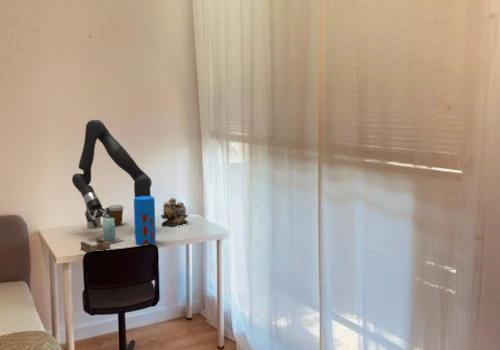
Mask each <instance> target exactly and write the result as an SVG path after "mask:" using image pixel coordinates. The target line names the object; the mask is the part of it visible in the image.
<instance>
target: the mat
mask: <svg viewBox="0 0 500 350" xmlns="http://www.w3.org/2000/svg"><path fill="white" fill-rule="evenodd" d="M102 239H103V240H104V238H102ZM95 242H96V243H97V239H96V240H95ZM122 242H125V241H124V239H122V238H121V239H120V238H119V237H116V236H115V241H111V242H110V245H113V244H116V243H122Z"/></svg>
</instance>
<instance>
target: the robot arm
mask: <svg viewBox="0 0 500 350" xmlns="http://www.w3.org/2000/svg"><path fill="white" fill-rule="evenodd" d="M84 136H85V137H84V142H83V146H82V152H81V154H80V159H79V162H78V163H79V164H78V169H80V170H81V171H83V173H80V172H79V173H77V172H76V173H74V174H73V175H72V177H71V182H72V184H73V186H74V187H75V189H77V190H78V191H79V193H80V195H81V196H82V198H83V201H84V203H85V207H86V206H87V208H88V210H89V211H85V213H84V216H85V218H86V222H87V221H88V222H92V224H93V226H94V227H97V223H96V221H95V220H94V219H95V217H96V218H98V217H100V218H103V219H104V218H111V216H112V214H111V212H110V210H109V208H108V207H109V206H108V207H106V208H103V206H102V203H101V201H100V198H99V197H98V195H97V194H96V192H95V190H94V187H92V185H90V184H91V182H92V166H93V162H94V158H95V148H96V143H97V140H99V142H100V143H101V144H102V145H103V147H104V148H105V152H107V155H108V156H109V157H110V158H111V160H112V161H113V162H114V163H115V164H116V165H117V166H118V167H119V168H120V169H122V170H123V172H125V173H126V174H128V175H129V176H130V178H131V179H132V180H133V182H134V183H133V190H134V192H133V193H134V198H135V197H140V196H152V195H151V187H152V183H153V182H152V179H151V177H150V176H148V174H147V173H145V172H144V171H143V170H142V169H141V167H139V165H138V164H137V163H136V162H135V159H133V157H132V156H131V155H130V153H128V152H127V150H126V149H125V147H123V146H122V145H121V143H120V142H118V140H117V139H116V138H115V137H114V136H112V134H111V133H110V131H109V130H108V128H107V127H106V125H105V124H104V122H102V121H101V120H100V119H90V120H89V121H88V122H87V123H86V125H85V133H84ZM98 198H99V199H98ZM89 214H91V215H92V218H91V217H90V215H89Z"/></svg>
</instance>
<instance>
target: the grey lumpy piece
mask: <svg viewBox="0 0 500 350" xmlns="http://www.w3.org/2000/svg"><path fill="white" fill-rule="evenodd" d="M176 202H177V199H176V198H174V197H171V198H169V199H168V201H166V202H165V203H163V208H162V209H163V214H161V215H160V218H161V219H163V220H164V221H163V222H162V223H161V226H162V227H164V226H173V227H174V226H177V225H183V224H186V223H188V220H186V218H188V216H189V215H188V214H187V209H186V206H185V205H184V203H183V201H178V202H177V203H176ZM188 224H189V223H188ZM186 225H187V224H186ZM183 226H184V225H183Z"/></svg>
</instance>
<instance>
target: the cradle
mask: <svg viewBox="0 0 500 350" xmlns="http://www.w3.org/2000/svg"><path fill="white" fill-rule="evenodd" d="M103 239H104V238H100V237H97V238H96V240H97V242H96V244H90V243H88V242H86V241H85V242H84V241H80V250H81V251H84V252H86V253H88V252H91V251H97V250H106V249H110V250H111V244H110V242H108V241H106V240H103ZM106 251H107V250H106Z"/></svg>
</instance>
